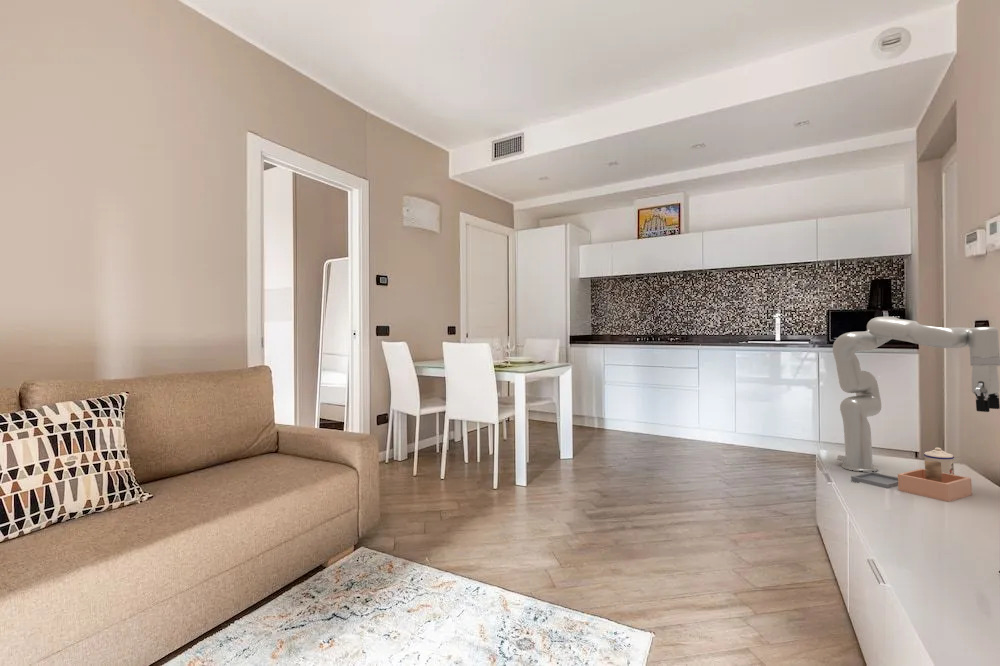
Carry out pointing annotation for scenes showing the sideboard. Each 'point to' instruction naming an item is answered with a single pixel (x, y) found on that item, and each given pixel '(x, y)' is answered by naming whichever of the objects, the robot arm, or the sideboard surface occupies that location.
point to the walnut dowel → (933, 471)
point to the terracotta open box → (935, 485)
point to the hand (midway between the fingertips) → (988, 410)
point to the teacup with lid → (941, 459)
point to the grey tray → (876, 479)
